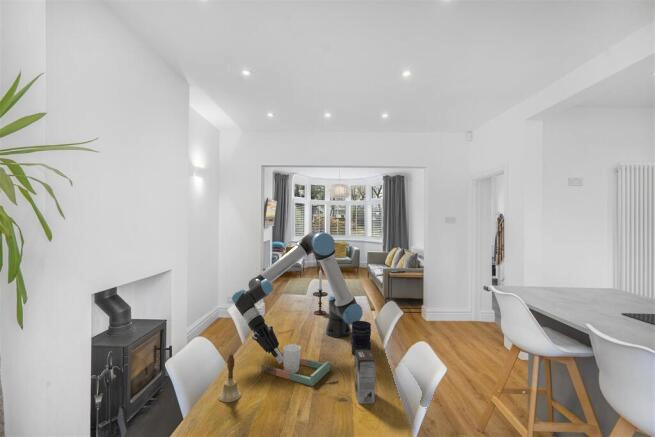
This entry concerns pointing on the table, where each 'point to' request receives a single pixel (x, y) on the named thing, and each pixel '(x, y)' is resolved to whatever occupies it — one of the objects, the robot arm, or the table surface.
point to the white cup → (291, 357)
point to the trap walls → (287, 374)
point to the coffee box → (364, 376)
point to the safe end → (316, 376)
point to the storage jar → (361, 336)
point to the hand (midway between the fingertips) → (282, 362)
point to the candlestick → (320, 295)
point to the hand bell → (230, 385)
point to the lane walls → (269, 369)
